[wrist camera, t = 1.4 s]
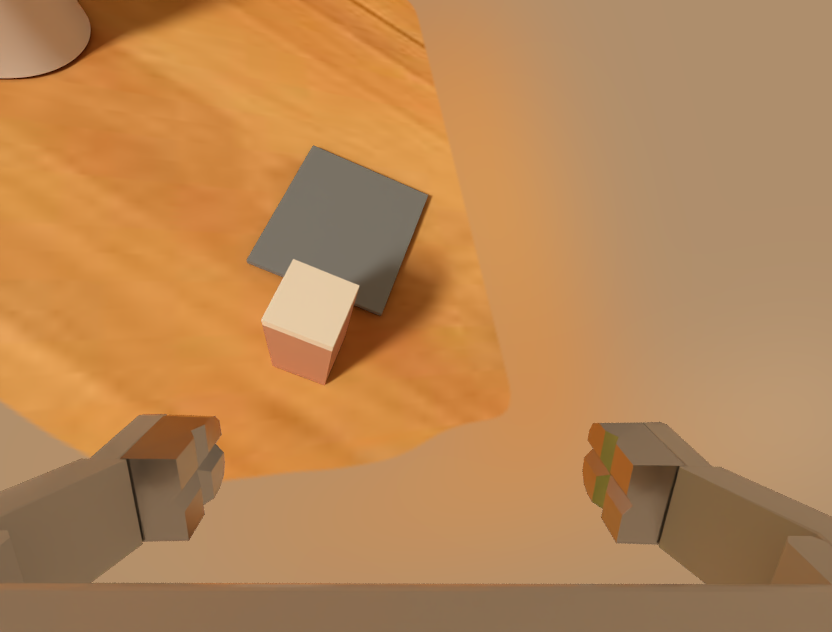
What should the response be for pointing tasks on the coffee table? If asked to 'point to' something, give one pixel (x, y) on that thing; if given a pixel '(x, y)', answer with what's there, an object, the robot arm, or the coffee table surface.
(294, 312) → the tall block
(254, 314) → the coffee table surface
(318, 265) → the slate mat
